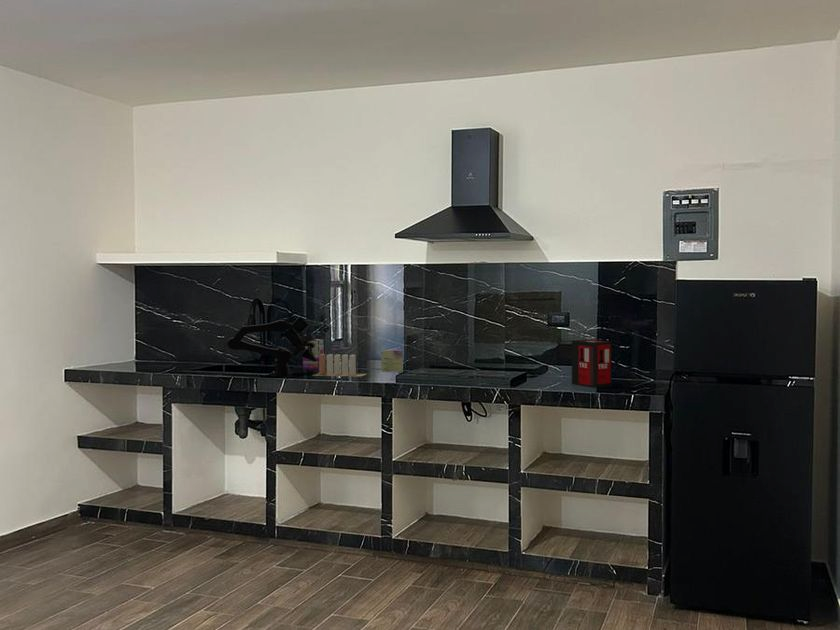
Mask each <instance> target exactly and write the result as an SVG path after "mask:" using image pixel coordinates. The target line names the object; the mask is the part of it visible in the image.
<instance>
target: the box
mask: <svg viewBox="0 0 840 630" xmlns="http://www.w3.org/2000/svg"><path fill="white" fill-rule="evenodd" d="M380 355H381V358H380V360H381V363H380V364H381V365H380V366H381V372H384V373H385V372H397V374H402V373H401V372H403V349H381V354H380Z"/></svg>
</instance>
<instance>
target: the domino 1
mask: <svg viewBox="0 0 840 630" xmlns="http://www.w3.org/2000/svg"><path fill="white" fill-rule="evenodd" d="M318 373H319V375H324V374H326V373H327V370H326V353H324V354H321V355H319V371H318Z"/></svg>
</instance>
